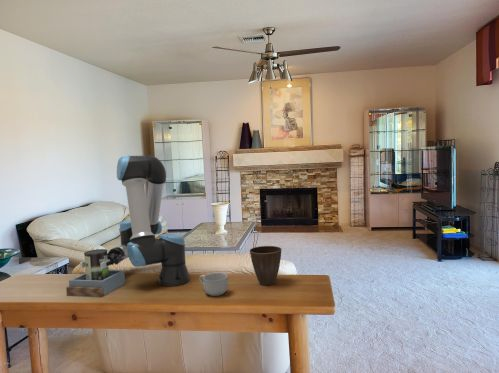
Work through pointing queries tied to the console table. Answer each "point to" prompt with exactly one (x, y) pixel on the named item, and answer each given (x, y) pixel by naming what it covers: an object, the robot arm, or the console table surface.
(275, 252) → the plant pot
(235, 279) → the console table surface
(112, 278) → the tray
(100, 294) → the rail
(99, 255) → the coffee can
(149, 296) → the console table surface
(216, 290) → the teacup
